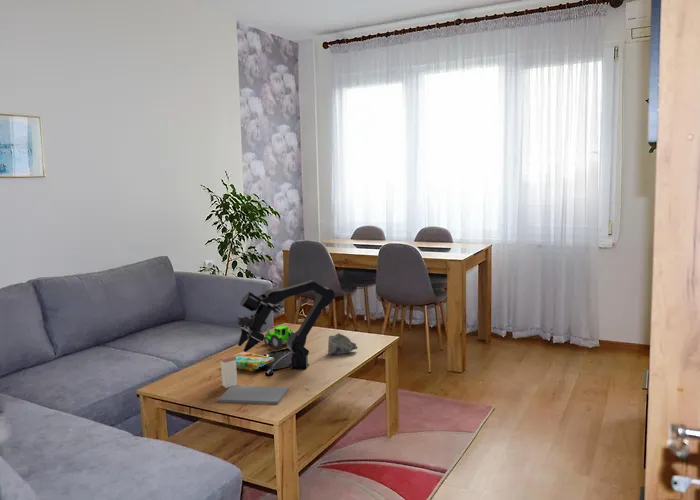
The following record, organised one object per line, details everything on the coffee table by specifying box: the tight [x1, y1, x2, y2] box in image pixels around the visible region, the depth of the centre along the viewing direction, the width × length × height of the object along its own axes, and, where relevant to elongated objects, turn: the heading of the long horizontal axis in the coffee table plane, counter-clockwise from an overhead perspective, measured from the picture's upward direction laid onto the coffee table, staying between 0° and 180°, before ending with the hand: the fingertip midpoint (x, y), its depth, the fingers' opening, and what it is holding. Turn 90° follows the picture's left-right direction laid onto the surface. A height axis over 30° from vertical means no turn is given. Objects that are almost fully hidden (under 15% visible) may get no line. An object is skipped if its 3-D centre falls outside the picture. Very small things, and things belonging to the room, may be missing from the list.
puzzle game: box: [232, 351, 275, 372], centre depth 251 cm, size 12×5×20 cm
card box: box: [219, 354, 239, 389], centre depth 228 cm, size 5×4×12 cm
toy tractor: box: [263, 325, 294, 350], centre depth 281 cm, size 11×16×10 cm
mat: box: [217, 385, 289, 405], centre depth 217 cm, size 24×14×1 cm, turn 80°
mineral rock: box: [327, 332, 358, 356], centre depth 263 cm, size 13×11×10 cm
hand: (241, 348), depth 235 cm, fingers open, 9 cm apart
